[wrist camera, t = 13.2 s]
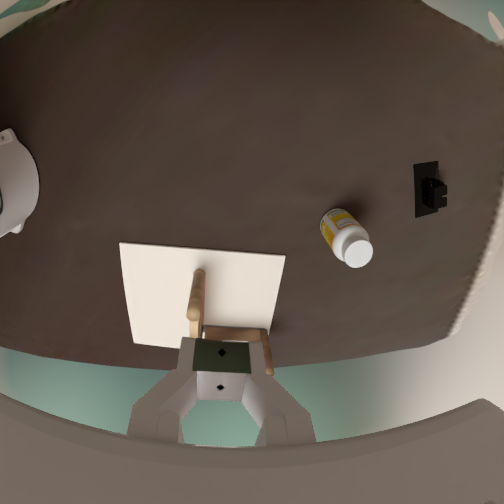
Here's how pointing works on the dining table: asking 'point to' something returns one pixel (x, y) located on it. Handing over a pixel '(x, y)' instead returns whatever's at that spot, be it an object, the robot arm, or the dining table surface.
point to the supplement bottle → (346, 238)
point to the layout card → (179, 286)
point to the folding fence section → (196, 304)
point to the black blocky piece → (428, 189)
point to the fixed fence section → (243, 339)
